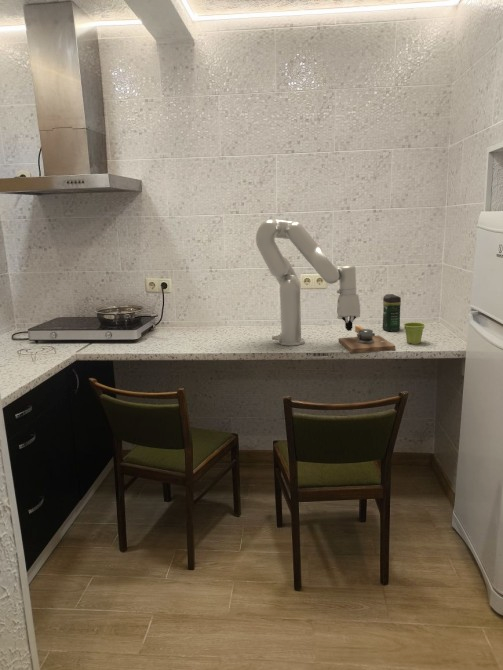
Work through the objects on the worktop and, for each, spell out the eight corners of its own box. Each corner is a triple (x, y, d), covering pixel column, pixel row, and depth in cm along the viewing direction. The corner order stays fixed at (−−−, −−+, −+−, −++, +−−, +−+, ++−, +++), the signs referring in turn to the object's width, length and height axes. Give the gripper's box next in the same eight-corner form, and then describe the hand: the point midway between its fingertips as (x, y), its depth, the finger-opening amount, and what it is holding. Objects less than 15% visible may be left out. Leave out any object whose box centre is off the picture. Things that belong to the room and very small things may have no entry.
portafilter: (359, 341, 218) (359, 332, 217) (349, 333, 233) (349, 325, 232) (376, 340, 219) (376, 331, 218) (365, 332, 234) (365, 324, 233)
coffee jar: (402, 331, 246) (403, 295, 241) (386, 332, 245) (387, 296, 241) (395, 327, 255) (396, 292, 251) (380, 328, 255) (381, 293, 250)
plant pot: (406, 345, 220) (407, 327, 217) (400, 340, 229) (401, 322, 227) (427, 344, 219) (427, 326, 217) (420, 339, 228) (421, 321, 226)
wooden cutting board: (351, 353, 211) (351, 346, 211) (338, 342, 231) (338, 336, 230) (395, 350, 213) (395, 343, 212) (378, 339, 232) (378, 333, 232)
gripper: (334, 294, 220) (335, 333, 224) (366, 291, 221) (366, 330, 226) (330, 292, 227) (331, 329, 232) (360, 289, 229) (361, 327, 233)
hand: (349, 330), depth 228 cm, fingers closed
